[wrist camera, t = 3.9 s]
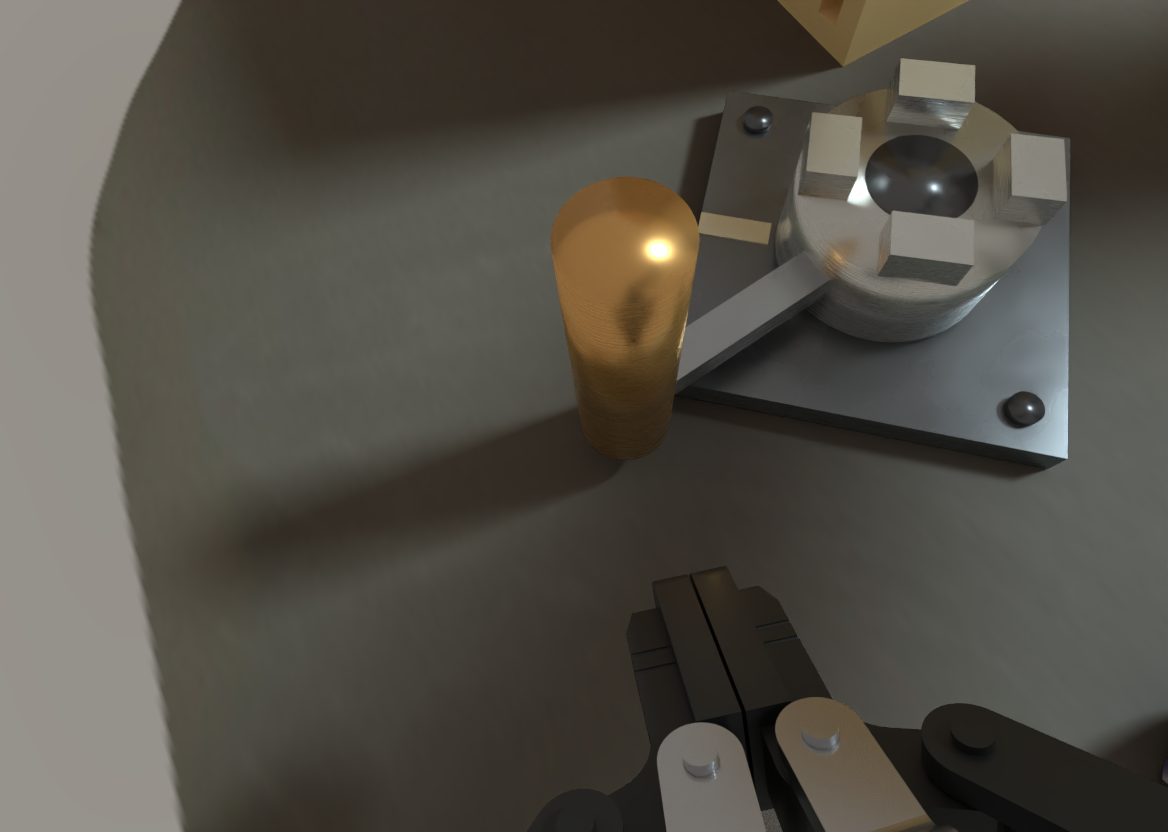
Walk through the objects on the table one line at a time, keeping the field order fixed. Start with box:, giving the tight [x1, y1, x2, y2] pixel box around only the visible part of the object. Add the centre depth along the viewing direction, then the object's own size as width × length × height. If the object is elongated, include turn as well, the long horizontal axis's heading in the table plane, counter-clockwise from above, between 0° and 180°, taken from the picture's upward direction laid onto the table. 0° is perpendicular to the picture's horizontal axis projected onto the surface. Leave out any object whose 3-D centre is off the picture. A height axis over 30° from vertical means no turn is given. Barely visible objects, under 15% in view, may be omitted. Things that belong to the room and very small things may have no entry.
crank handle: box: [551, 58, 1067, 460], centre depth 22 cm, size 18×8×11 cm, turn 124°
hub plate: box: [675, 91, 1070, 469], centre depth 28 cm, size 14×14×2 cm
